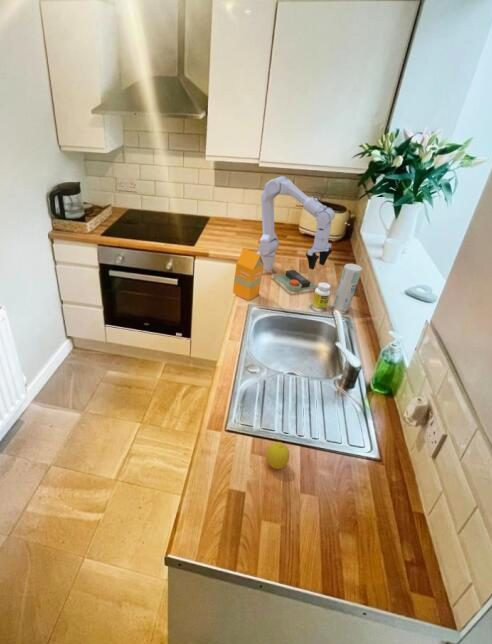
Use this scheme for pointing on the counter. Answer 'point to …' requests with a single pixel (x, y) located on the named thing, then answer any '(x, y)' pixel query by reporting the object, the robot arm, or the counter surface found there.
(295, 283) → the power button
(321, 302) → the pill bottle
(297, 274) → the remote
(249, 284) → the orange juice
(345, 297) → the spray can
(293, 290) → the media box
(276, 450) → the lemon
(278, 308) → the counter surface
